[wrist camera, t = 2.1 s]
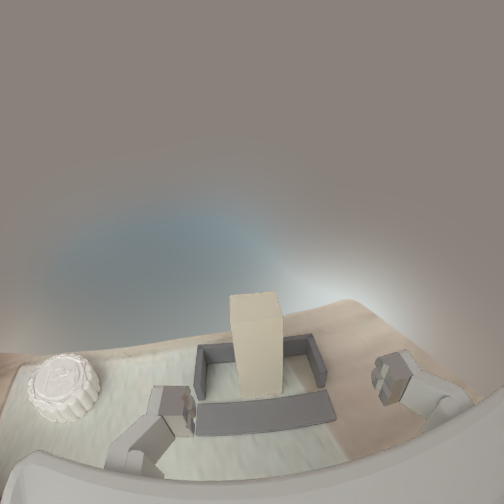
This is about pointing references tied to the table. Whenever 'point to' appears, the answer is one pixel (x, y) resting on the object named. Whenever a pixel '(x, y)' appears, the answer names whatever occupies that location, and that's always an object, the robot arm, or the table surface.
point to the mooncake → (64, 387)
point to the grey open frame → (261, 411)
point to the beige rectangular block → (257, 342)
